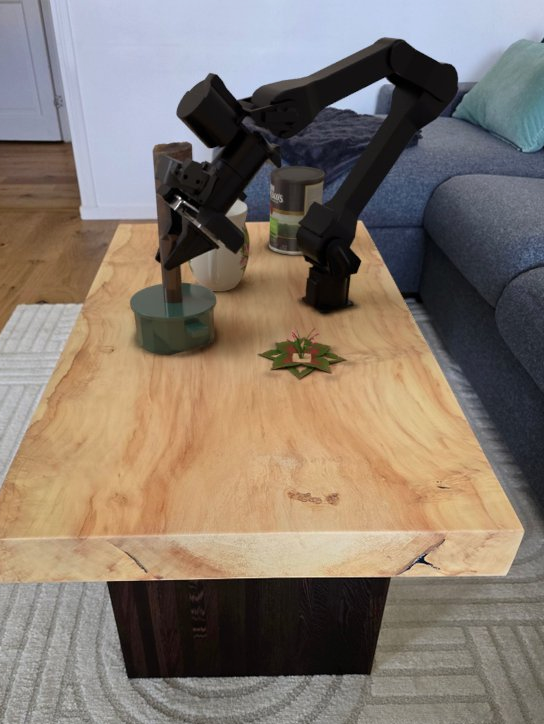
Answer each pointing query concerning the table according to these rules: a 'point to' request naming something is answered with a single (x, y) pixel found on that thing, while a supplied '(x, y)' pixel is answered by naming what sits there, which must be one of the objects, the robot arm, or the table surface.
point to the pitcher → (224, 258)
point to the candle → (174, 151)
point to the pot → (175, 334)
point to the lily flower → (295, 347)
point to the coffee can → (291, 204)
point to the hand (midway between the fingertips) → (161, 265)
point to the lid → (172, 293)
